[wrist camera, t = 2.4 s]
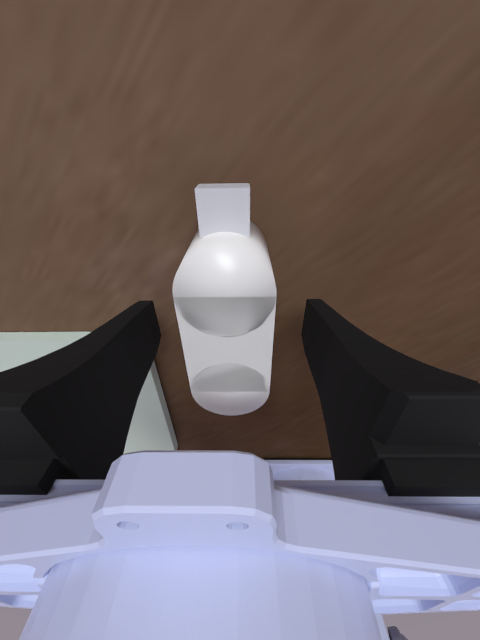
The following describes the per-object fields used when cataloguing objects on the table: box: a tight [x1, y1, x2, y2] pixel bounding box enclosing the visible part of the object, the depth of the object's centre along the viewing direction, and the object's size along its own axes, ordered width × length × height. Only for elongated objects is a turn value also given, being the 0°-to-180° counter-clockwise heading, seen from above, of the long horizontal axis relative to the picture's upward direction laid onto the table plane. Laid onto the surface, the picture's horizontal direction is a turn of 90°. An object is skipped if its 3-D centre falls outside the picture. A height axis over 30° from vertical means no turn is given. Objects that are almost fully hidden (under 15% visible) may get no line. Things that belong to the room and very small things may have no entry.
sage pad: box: [0, 332, 178, 454], centre depth 18 cm, size 12×10×1 cm
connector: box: [172, 183, 276, 416], centre depth 12 cm, size 10×4×4 cm, turn 1°
